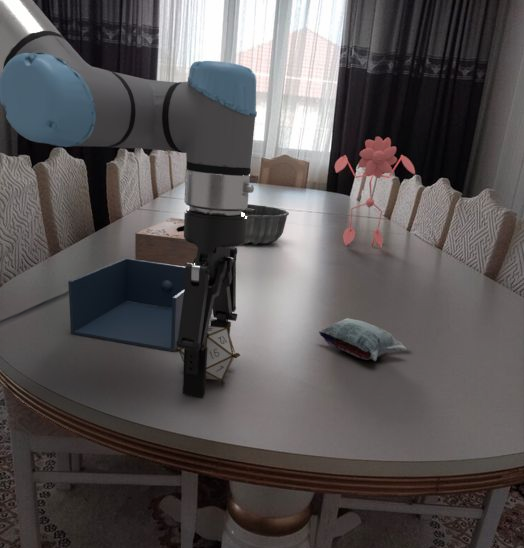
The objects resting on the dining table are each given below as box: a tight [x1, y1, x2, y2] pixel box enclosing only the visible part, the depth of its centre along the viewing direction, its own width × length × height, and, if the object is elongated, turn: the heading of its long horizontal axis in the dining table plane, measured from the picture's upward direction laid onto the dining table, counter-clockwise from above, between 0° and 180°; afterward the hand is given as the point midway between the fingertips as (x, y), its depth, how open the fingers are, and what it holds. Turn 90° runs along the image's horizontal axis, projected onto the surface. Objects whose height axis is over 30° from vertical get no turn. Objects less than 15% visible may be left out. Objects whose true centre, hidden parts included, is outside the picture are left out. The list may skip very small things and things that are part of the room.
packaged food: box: [318, 317, 407, 362], centre depth 84 cm, size 9×12×5 cm
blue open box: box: [67, 257, 213, 353], centre depth 92 cm, size 30×17×8 cm, turn 167°
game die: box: [173, 322, 241, 387], centre depth 69 cm, size 9×8×10 cm
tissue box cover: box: [134, 217, 198, 267], centre depth 123 cm, size 26×14×10 cm, turn 173°
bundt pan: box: [242, 203, 290, 246], centre depth 167 cm, size 26×26×10 cm
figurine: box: [334, 136, 416, 254], centre depth 168 cm, size 15×26×35 cm, turn 94°
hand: (206, 377), depth 70 cm, fingers closed on game die, 10 cm apart
